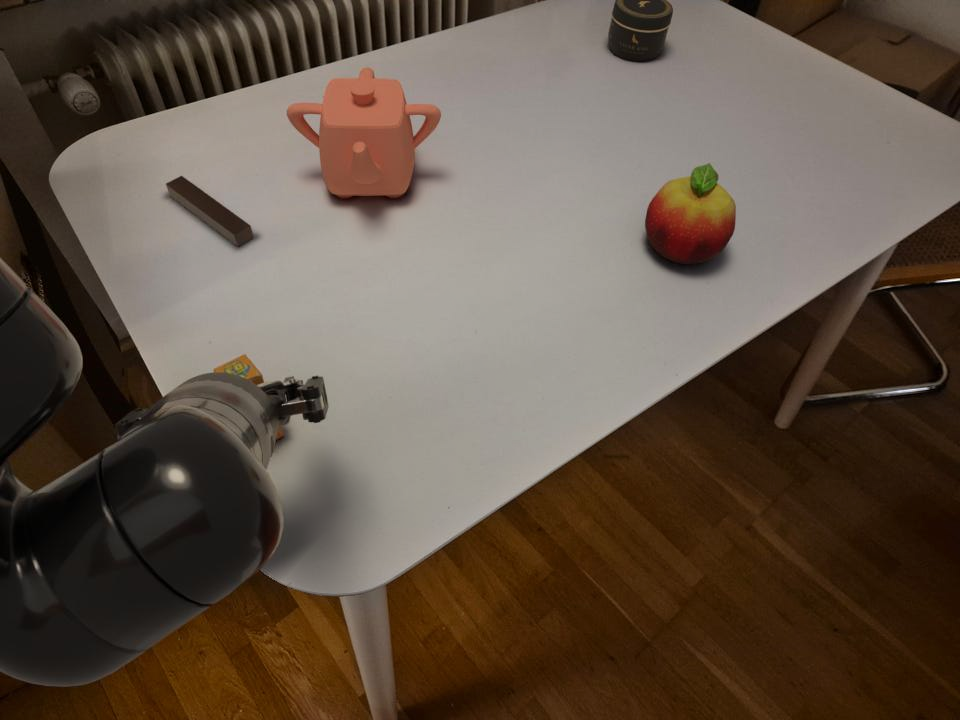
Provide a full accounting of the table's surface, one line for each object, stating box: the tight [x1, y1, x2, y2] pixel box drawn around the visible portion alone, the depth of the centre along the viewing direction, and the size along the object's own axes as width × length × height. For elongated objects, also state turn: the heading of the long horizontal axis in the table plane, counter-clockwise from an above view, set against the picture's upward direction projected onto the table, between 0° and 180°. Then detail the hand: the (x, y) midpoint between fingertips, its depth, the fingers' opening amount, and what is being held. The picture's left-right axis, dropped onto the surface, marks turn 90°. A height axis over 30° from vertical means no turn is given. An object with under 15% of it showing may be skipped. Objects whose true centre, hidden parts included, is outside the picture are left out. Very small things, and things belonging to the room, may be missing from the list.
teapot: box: [286, 67, 442, 199], centre depth 85 cm, size 17×16×13 cm
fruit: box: [644, 162, 737, 265], centre depth 82 cm, size 11×11×10 cm
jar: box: [607, 0, 674, 62], centre depth 114 cm, size 10×10×8 cm
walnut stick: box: [165, 175, 255, 248], centre depth 83 cm, size 2×14×2 cm, turn 50°
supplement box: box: [213, 353, 284, 440], centre depth 61 cm, size 3×3×10 cm
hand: (240, 398), depth 56 cm, fingers open, 8 cm apart
